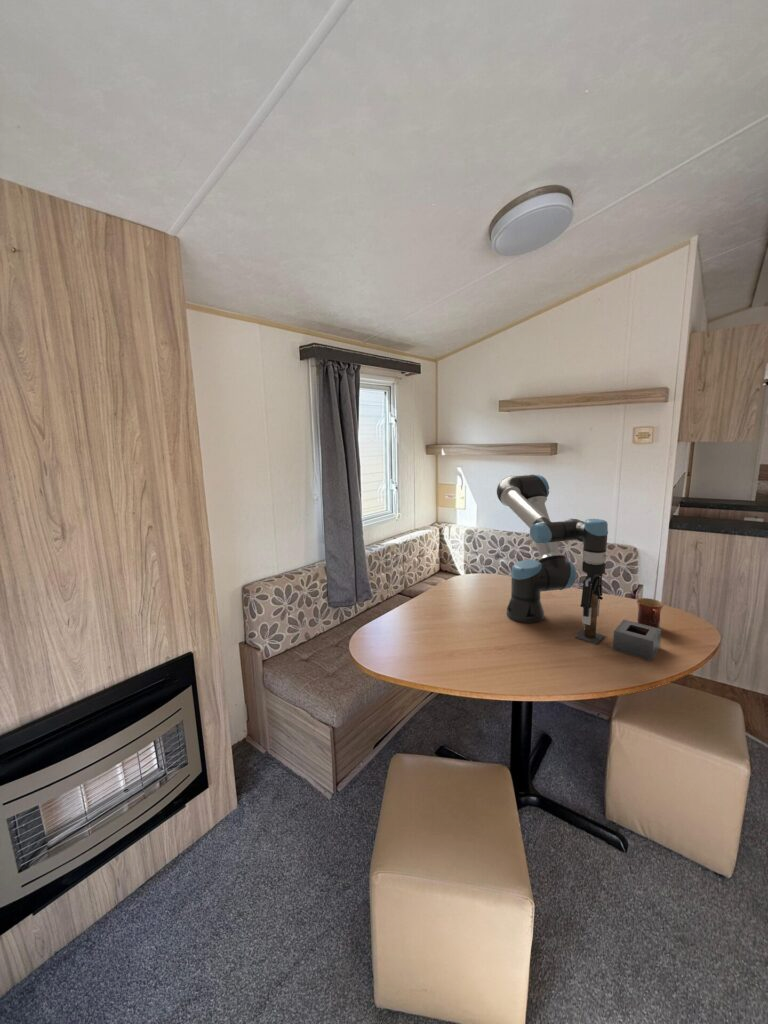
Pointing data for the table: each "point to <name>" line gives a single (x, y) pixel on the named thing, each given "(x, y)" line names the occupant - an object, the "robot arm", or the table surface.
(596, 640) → the coaster
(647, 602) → the mug
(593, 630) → the brown cylinder
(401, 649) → the table surface
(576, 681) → the table surface
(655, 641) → the grey hollow block
